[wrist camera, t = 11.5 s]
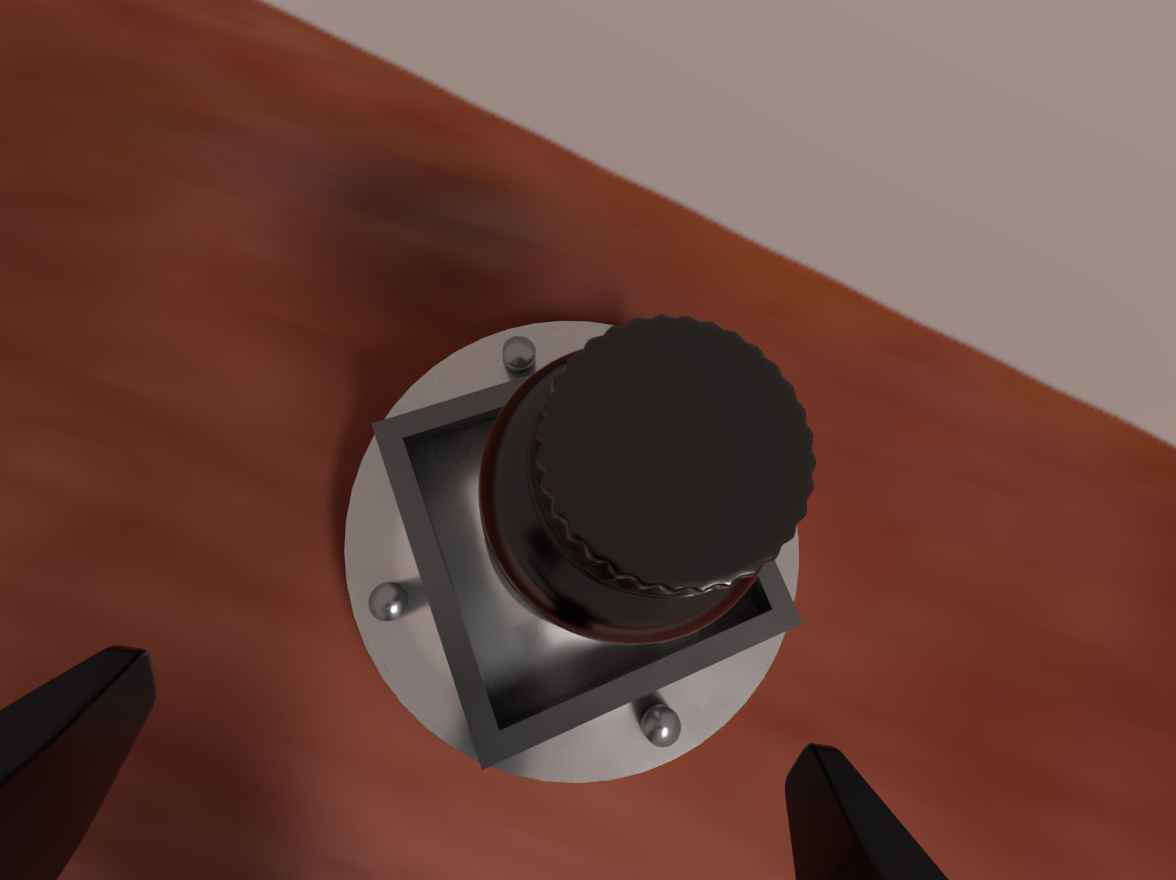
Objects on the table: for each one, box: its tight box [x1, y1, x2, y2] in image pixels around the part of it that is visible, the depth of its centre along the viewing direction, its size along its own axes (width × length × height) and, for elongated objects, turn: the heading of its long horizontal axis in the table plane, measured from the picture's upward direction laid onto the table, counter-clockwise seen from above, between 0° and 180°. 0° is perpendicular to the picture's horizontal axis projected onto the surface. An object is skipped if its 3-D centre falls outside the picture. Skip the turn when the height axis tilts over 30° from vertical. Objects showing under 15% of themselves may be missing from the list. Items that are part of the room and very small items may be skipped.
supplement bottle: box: [478, 314, 816, 645], centre depth 16 cm, size 7×7×12 cm
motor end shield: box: [344, 321, 803, 783], centre depth 22 cm, size 16×16×3 cm
